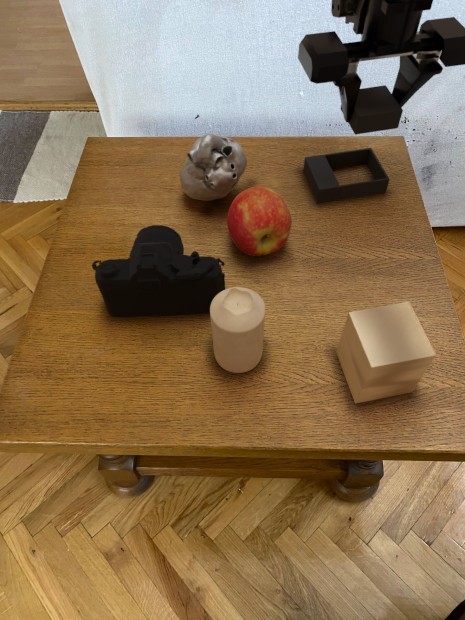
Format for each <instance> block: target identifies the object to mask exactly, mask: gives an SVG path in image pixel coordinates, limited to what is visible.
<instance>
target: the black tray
mask: <svg viewBox="0 0 465 620" xmlns="http://www.w3.org/2000/svg"><path fill="white" fill-rule="evenodd" d="M363 164H367V167H368V168H369V170H370V172H371V174H372V175H373V178H374V179H372V180H366V181H359V182H353V183H346V184H340V183H339V181H338V179H337V177H336V175H335V172H334V171H333V169H334V168H336V169H337V168H341V167H347V166H354V165H355V166H356V165H363ZM302 172H303V174H304V176H305V178H306V181H307V183H308V186H309V188H310V190H311V193H312V195H313V197H314V200H315V201H316V204H322V203H329V202H335V201H341V200H347V199H356V198H362V197H368V196H374V195H381V194H386V192H387V189H388V185H389V182H390V178H389V175H388V174H387V172H386V170H385V168H384V167H383V165H382V164H381V162H380V160H379V158H378V157H377V155H376V153H375V151H374V149H373V148H372V147H367V148H360V149H351V150H346V151H338V152H331V153H326V154H319V155H311V156H305V157H304V161H303V170H302Z"/></svg>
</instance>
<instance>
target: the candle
mask: <svg viewBox="0 0 465 620" xmlns="http://www.w3.org/2000/svg"><path fill="white" fill-rule="evenodd" d="M209 314H210V315H209V317H210V326H211V327H210V328H211V337H212V348H213V354H214V358H215V361H216V362H217V364H218V365H219V366H220V367H221V368H222V369H224V371H227V372H229V373H234V374H242V373H246V372H249V371H251V370H253V369H254V368H256V367H257V365H258V364H259V363H260V361H261V359H262V358H263V357H262V356H263V349H264V337H265V323H266V304H265V302H264V299H263V297H261V296H260V295H259V294H258V293H257V292H256V291H255V290H252V289H250V288H247V287H243V286H233V287H228V288H225V290H223V291H221V292H220V293H219V294H217V295H216V296H215V298H214V299H213V300H212V303H211V306H210V313H209Z"/></svg>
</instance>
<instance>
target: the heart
mask: <svg viewBox="0 0 465 620" xmlns="http://www.w3.org/2000/svg"><path fill="white" fill-rule="evenodd" d="M192 144H193V145H192V146H191V148H190V150H189V151H187V152H186V156H187V158H186V159H185V161H184V163H183V164H182V166H181V169H180V172H179V182H180V186H181V190H182V191H183V193H185V195H186V196H187V197H189V198H190V199H193V200H199V201H205V202H206V201H207V202H209V201H210V202H211V201H214V200H219V199H222V198H224V197H226V196H228V193H230V192H232V191H234V189H235V188H237V185H238V184H239V181H240V179H241V177H242V176H243V175H244V173H245V171H246V169H247V164H248V160H247V156H246V154H245V151H244V149H243V146H242V144H241V143H240V142H238V141H236V140H235V139H233V138H230V137H228V136H224V135H216V134H211V133H206V134H204V135H202V137H198V138H197V139H196V140H195V141H194V143H192Z"/></svg>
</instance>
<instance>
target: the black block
mask: <svg viewBox="0 0 465 620" xmlns="http://www.w3.org/2000/svg"><path fill="white" fill-rule="evenodd" d="M340 111H341V113H342V114H343V110H342V104H340ZM403 111H404V110H403V107H402V108H401V107H400V105H399V104H398V102H397V101H396V99H395V98H394V97H393V95H392V91H390V89H389V88H388V86H387V85H386V84H385V85H377V86H370V87H364V88H360V90H359V93H358V97H357V101H356V105H355V109H354V112H353V115H352V117H351V119H350V122H347V123H348V125H349V127H350V128H351V130H352V132H353V134H354V135H361V134H368V133H373V132H374V133H375V132H381V131H388V130H394V129H395V130H396V129H398V128H399V126H400V122H401V118H402V115H403Z"/></svg>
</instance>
